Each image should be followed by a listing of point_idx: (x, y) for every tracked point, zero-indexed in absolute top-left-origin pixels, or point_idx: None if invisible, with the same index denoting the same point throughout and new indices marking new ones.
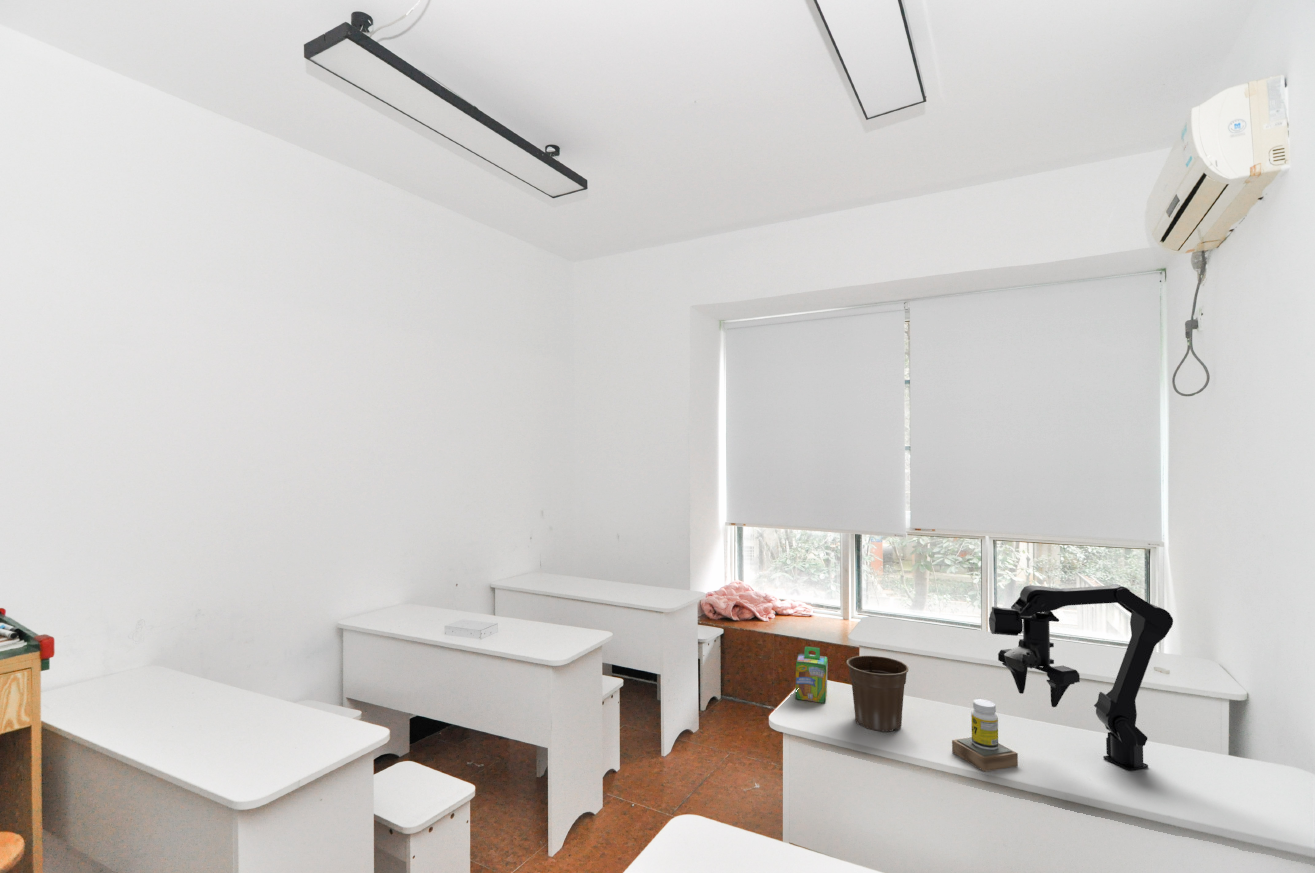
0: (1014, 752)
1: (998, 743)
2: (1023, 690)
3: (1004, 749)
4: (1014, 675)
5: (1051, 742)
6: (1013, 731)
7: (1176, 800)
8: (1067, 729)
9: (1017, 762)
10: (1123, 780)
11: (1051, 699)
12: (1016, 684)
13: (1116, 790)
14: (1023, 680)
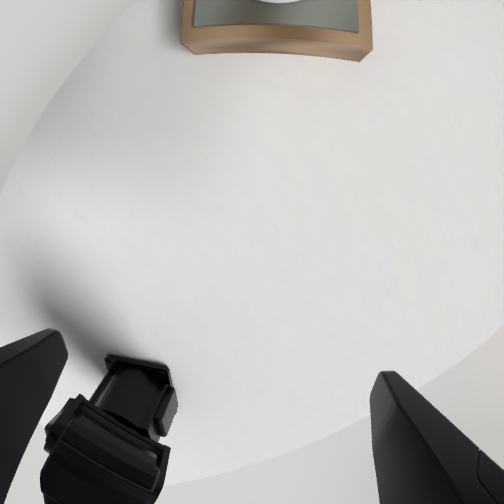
0: (190, 35)
1: (283, 36)
2: (374, 415)
3: (215, 6)
4: (491, 492)
5: (295, 341)
6: (406, 300)
7: (14, 302)
8: (329, 431)
9: (191, 50)
10: (69, 294)
11: (12, 351)
12: (439, 417)
13: (35, 227)
14: (393, 499)
